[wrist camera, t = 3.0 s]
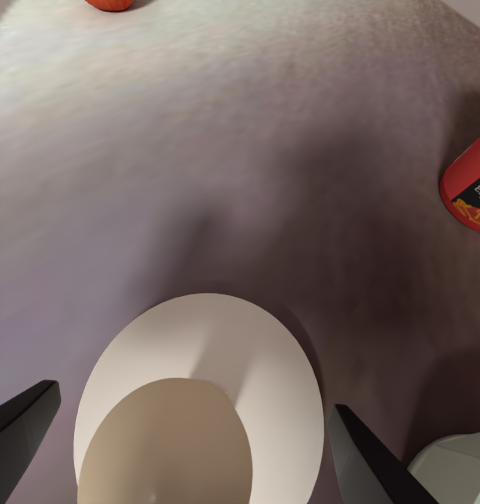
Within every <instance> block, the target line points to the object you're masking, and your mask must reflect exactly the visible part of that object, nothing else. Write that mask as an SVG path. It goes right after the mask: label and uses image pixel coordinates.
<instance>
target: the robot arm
mask: <svg viewBox="0 0 480 504" xmlns="http://www.w3.org/2000/svg"><path fill="white" fill-rule="evenodd" d="M60 404H61V395H60V388H59V383H58V381H56V380H43V381H41V382H39V383H37V384H35V385H34V386H32V387H30V388H29V389H27V390H25V391H24V392H22V393H20V394H19V395H17V396H15V397H14V398H12V399H10V400H9V401H7V402H5V403H4V404H2V405H0V504H5V503H6V501H7V500H8V498H9V496H10V495H11V493H12V492H13V490H14V489H15V487H16V485H17V484H18V482H19V481H20V479H21V477H22V476H23V474H24V473H25V471H26V469H27V468H28V466H29V464H30V463H31V461H32V459H33V457H34V456H35V454H36V452H37V450H38V448H39V446H40V444H41V442H42V440H43V438H44V436H45V434H46V433H47V431H48V429H49V427H50V425H51V423H52V421H53V419H54V417H55V415H56V413H57V411H58V409H59V407H60ZM328 432H329V437H330V443H331V448H332V453H333V459H334V464H335V469H336V474H337V479H338V484H339V488H340V492H341V495H342V499H343V502H344V504H439V503H438V502H437V500H436V499H435V498H434V497H433V496H432V495H431V494H430V493H429V492H428V491H427V490H426V489H425V488H424V487H423V486H422V485H421V483H420V482H419V481H418V480H417V479H416V478H415V477H414V476H413V475H412V474H411V473H410V472H409V471H408V470H407V469H406V468H405V467H404V465H403V464H402V463H401V462H400V461H399V460H398V459H397V458H396V457H395V456H394V455H393V454H392V453H391V452H390V451H389V450H388V448H387V447H386V446H385V445H384V444H383V443H382V442H381V441H380V440H379V439H378V438H377V437H376V436H375V435H374V434H373V433H372V432H371V430H370V429H369V428H368V427H367V426H366V425H365V424H364V423H363V422H362V421H361V420H360V419H359V418H358V417H357V416H356V415H355V413H354V412H353V411H352V410H351V409H350V408H349V407H348V406H346V405H344V404H334V405H333V406H332V409H331V413H330V416H329V420H328Z"/></svg>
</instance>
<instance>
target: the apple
mask: <svg viewBox="0 0 480 504" xmlns="http://www.w3.org/2000/svg"><path fill="white" fill-rule="evenodd" d="M85 1H87V2H88V3H89V4H91V5H93V6H95V7H97V8H99V9H101V10H110V11H113V10H119V11H120V10H124V9H126V8H127V7H129V6H130V4H131V3H132V2H133V0H85Z"/></svg>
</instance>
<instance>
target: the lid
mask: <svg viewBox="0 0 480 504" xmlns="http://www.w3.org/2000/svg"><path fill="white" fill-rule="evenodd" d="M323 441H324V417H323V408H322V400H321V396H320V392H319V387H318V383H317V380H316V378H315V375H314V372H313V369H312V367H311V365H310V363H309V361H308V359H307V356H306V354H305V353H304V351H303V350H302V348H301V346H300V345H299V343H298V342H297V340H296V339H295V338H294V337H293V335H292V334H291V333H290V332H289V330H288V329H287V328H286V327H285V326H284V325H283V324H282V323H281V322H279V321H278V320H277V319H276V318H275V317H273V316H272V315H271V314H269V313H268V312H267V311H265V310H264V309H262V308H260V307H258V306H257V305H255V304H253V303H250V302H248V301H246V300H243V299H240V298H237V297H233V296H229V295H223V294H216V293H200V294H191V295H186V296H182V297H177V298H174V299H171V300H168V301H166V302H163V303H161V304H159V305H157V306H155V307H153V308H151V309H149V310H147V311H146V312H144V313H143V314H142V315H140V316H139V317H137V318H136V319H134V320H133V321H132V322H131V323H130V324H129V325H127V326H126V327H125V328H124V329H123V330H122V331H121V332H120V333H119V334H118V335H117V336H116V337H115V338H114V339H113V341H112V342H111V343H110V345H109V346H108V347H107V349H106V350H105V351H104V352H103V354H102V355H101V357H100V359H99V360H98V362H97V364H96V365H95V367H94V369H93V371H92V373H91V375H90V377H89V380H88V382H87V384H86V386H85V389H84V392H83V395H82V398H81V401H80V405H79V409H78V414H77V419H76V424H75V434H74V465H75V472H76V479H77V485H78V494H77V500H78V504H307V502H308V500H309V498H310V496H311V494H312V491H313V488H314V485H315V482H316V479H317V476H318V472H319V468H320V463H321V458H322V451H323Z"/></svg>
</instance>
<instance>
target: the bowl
mask: <svg viewBox="0 0 480 504" xmlns="http://www.w3.org/2000/svg"><path fill="white" fill-rule="evenodd" d="M407 470H408V471H409V472H410V473H411V474H412V475H413V476H414V477H415V478H416V479H417V480H418V481H419V482H420V483H421V485H422V486H423V487H424V488H425V489H426V490H427V491H428V492H429V493H430V494H431V495H432V496H433V497H434V498H435V499H436V500H437V502H438V503H439V504H480V433H475V434H455V435H449V436H445V437H442V438H440V439H437V440H435V441H433V442H432V443H430V444H428V445H427V446H426V447H424V448H423V449H422V450H421V451H420V452H419V453H418V454H417V455H416V456H415V458H414V459H413V460H412V461H411V463H410V464H409V466H408V468H407Z"/></svg>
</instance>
